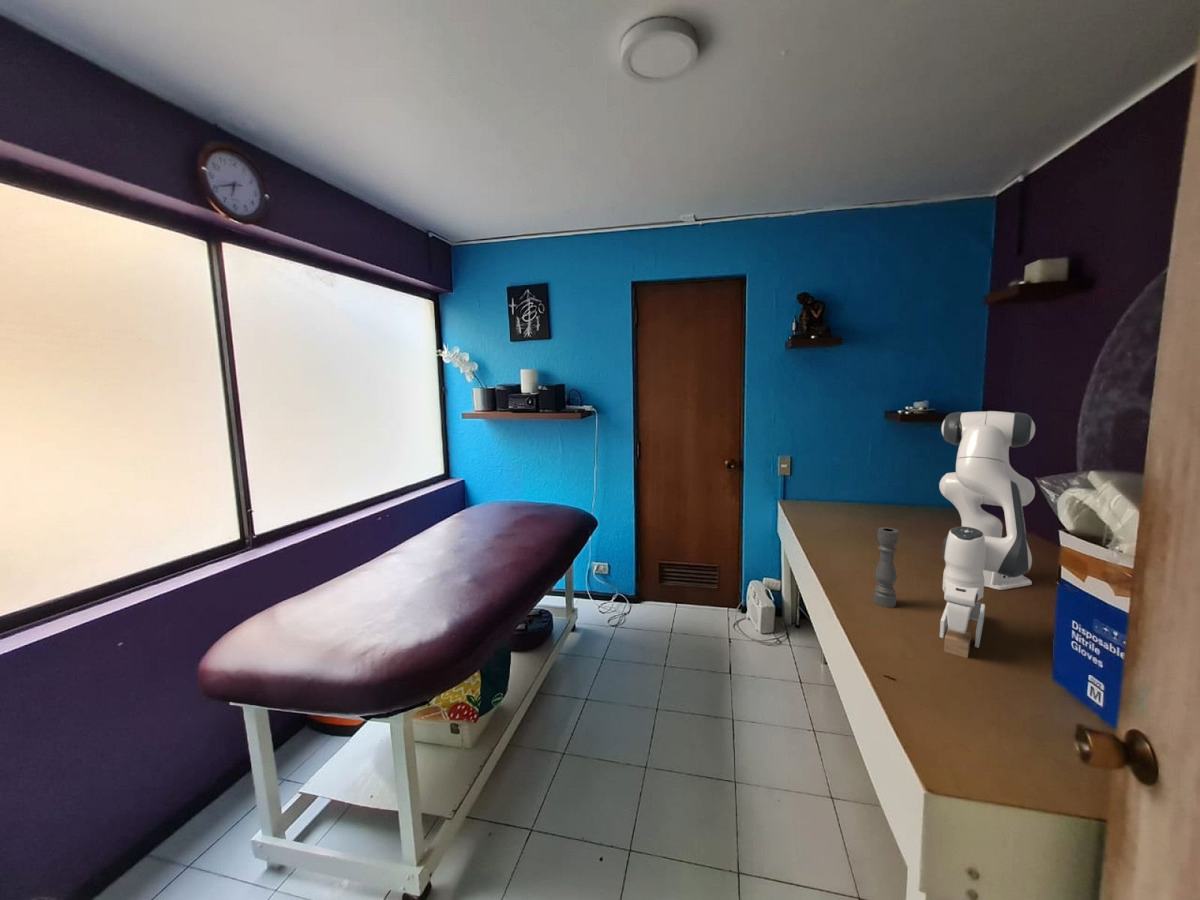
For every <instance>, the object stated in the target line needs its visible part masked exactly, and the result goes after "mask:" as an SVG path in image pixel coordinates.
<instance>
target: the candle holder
mask: <svg viewBox="0 0 1200 900" xmlns="http://www.w3.org/2000/svg"><path fill="white" fill-rule="evenodd" d="M899 533H900V532H899V529H896V528H894V527H888V526H887V527H884V526H882V527H878V528H877V540H878V542H879V545H878V546H877V550H879V560H878V563H877V567H876V569H875V574H874V575H875V580H876V581H877V585H876V586H875V587H874V589H875V590H874V593H873V603H874V604H875V605H877V606H879V607H881V608H887V609H890V608H891V609H892V608H895V607H896V606H897V594H896V589H895V588H894V584H895V583H896V582H897V581H898V576H897V572H896V566H895V561H894V560H895V553H897V550H898V549H897V547H896V545H897V543H898V541H899Z"/></svg>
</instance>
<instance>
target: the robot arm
mask: <svg viewBox="0 0 1200 900" xmlns="http://www.w3.org/2000/svg"><path fill="white" fill-rule="evenodd" d="M940 430H941V434H942V436H943V440H944V441H946V442H947V443H949V444H951V445H953V446H958V449H957V453H956V461H955V471H954V472H946V473H945V474H944V475H943V476H942V477H941V479H940V481H939V483H938V485H939V486H938V488H939V491H940V494H941V495H942V496H943V497H944V498H945V499H946V500H948V501H949V502H951V504H952V505H953V506H954V507H955V508H956V509H957V511H958V514H959V516H960V520H961V526H955V527H952V528H951V529H950V530H949V531H948V534H947V536H946V537H945V538H944V539H943V542H942V554H941V555H942V558H943V559H944V563H945V567H944V570H943V576H942V590H943V593H944V596H943V598H944V600H945V601H946V604H947V622H948V624H947V628H949V629H950V630H952V631H955V632H959V633H965V632H967V629H968V625H969V621H970V620H969V618H970V613H971V610H972V608H973V607H974V606H975V604H976V602H979V601H980V600H981V599H983V598H984V590H985V589H984V588H985V587H986V588H990V589H994V590H1000V591H1004V590H1009V589H1014V588H1021V587H1026V586H1031V585H1032V584H1033V583H1032V580H1031V579H1030V578H1028V577H1026V576H1024V575H1025V574H1027V573H1029V572H1030V569H1031V568H1032V563H1033V557H1032V556H1033V555H1032V553H1031V550H1030V547H1029V544H1028V541H1027V535H1026V533H1027V532H1026V531H1027V530H1026V523H1025V517H1024V515H1025V514H1024V509H1023V507H1025V506H1028V505H1029V504H1030V503H1031V502H1032V501H1033V500H1034V498H1035V495H1036V489H1035V486H1034V484H1033V483H1032V481H1031V480H1030V479H1028V478H1027V477H1024V476H1022V475H1021V474H1019V473H1018V472H1017V471H1016V470H1015V469H1014V468H1013V467H1012V466H1011V463H1010V455H1009V454H1010V453H1009V452H1010V451H1009V450H1010V447H1011V448H1020V447H1021V448H1022V447H1025V446H1026V445H1029V444H1030V442H1031V440H1032V439H1033V438H1034V436H1035V433H1036V425H1035V421H1033V418H1032V416H1030V415H1029V414H1028V413H1023V412H1018V411H1015V412H1009V411H997V410H987V411H967V412H966V411H965V412H962V411H955V412H951V413H948V415H946V416H945V418H944V419H943V422H942V423H941V429H940ZM981 505H989V506H998V507H1002V510H1003V512H1004V513H1003V514H1004V520H1005V529H1006V536H1005V537H1003V536H1002V535H1003V523H1002V521H1001V520H1000V519H999V518H998V517H997V516H995V515H993V514H991V513H989V512H987V511H985V509H983V508H982V507H981Z"/></svg>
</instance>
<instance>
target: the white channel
mask: <svg viewBox="0 0 1200 900" xmlns="http://www.w3.org/2000/svg"><path fill="white" fill-rule="evenodd" d="M985 611H986V603H985V602H984V603H983V602H980V601H977V602H976V604H975V606H974V607H973V608H972V610H971V613H970V618H969V621H974V622H977V624H976V629H975V639H974V641H975V642H974V647H975V648H980V643H981V637H982V633H983V626H984V622H985ZM939 626H940V627H939V638H942V639H944V638H945V634H946V631H947V628H948V622H947V603H946V604H945V608H944V610H943V612H942V616H941V618H940V623H939Z"/></svg>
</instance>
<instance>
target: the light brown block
mask: <svg viewBox="0 0 1200 900" xmlns="http://www.w3.org/2000/svg"><path fill="white" fill-rule="evenodd" d="M971 635H972V632H970V631H969V632H968V631H966V632H965V633H959V632H955V631H952V630H950V629H949V628H948V627H947V628H946V631H945V634H944V638H943V639H944V642H943V652H945V653H948V654H952V655H955V656H959V657H963V658H966V659H968V657H969V654H970V653H969V652H970V648H971V647H970V646H971Z"/></svg>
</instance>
